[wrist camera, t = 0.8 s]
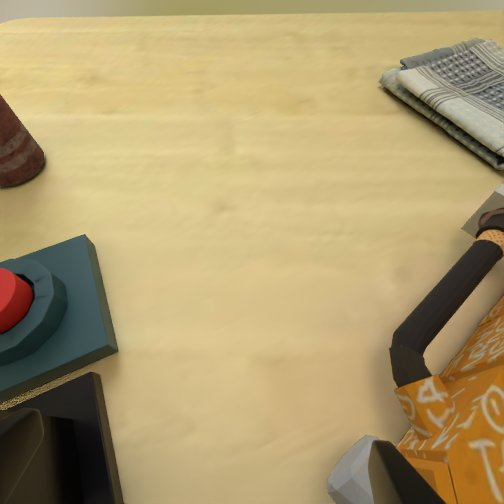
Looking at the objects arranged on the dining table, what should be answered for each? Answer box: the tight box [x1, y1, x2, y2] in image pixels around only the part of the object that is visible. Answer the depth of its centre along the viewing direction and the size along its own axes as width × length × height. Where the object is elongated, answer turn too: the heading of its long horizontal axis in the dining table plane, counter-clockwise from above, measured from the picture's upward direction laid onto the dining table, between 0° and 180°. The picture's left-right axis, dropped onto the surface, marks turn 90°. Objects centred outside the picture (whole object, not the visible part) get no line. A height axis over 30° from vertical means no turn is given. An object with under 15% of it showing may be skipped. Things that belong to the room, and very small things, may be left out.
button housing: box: [0, 234, 118, 403], centre depth 21 cm, size 10×11×4 cm
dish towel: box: [379, 38, 504, 170], centre depth 34 cm, size 19×18×3 cm
